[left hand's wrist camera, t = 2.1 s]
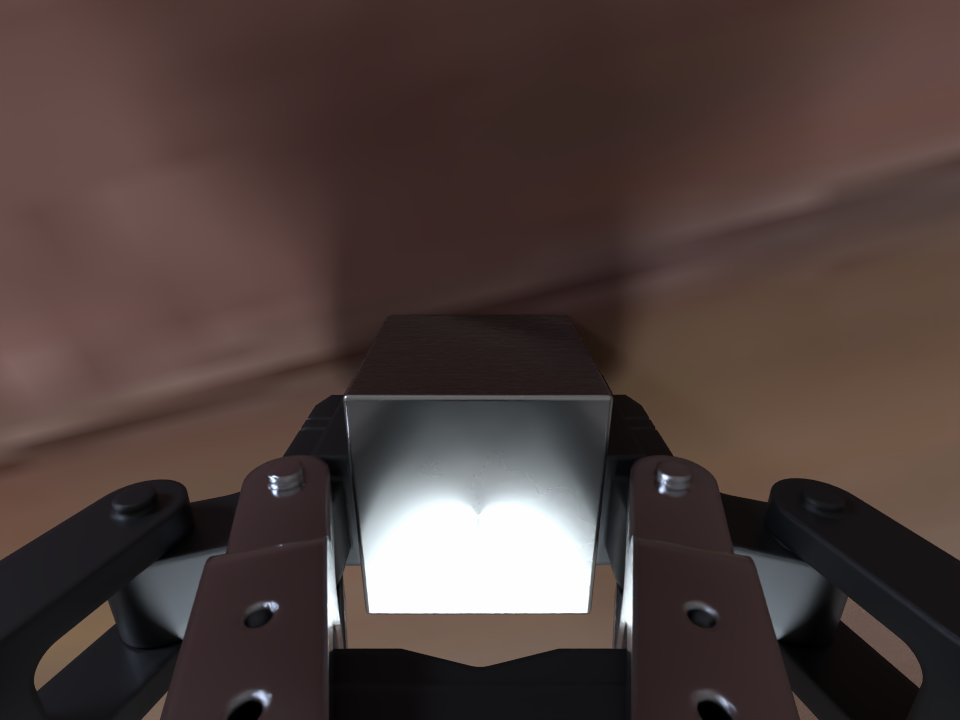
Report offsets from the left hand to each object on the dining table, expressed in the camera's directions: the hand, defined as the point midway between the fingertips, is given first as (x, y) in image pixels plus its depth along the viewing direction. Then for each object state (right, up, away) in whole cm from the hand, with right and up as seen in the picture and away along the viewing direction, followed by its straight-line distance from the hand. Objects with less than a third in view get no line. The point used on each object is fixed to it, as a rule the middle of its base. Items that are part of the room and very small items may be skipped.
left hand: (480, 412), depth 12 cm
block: (0, 0, 0) cm, 0 cm away
